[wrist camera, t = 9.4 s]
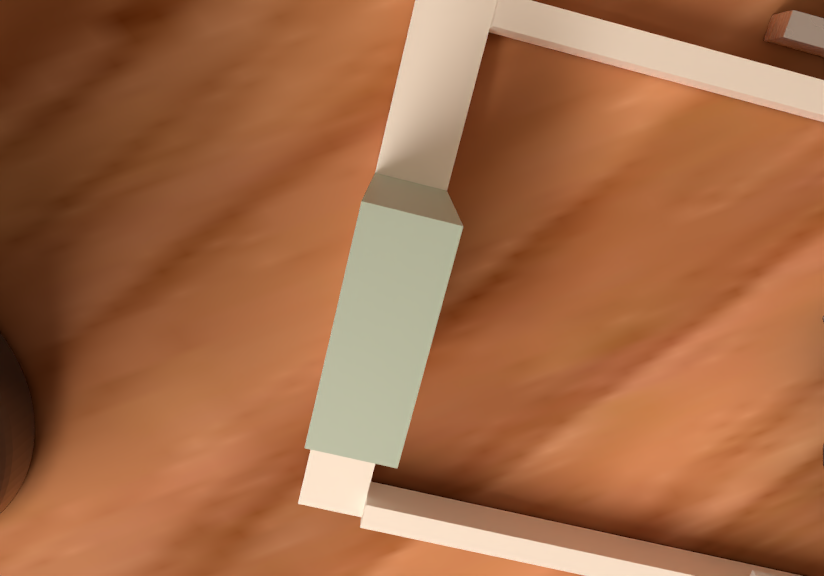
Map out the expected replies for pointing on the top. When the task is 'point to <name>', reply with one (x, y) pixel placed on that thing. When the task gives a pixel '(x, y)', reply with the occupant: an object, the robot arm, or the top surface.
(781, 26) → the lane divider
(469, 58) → the light grey frame
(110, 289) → the top surface
